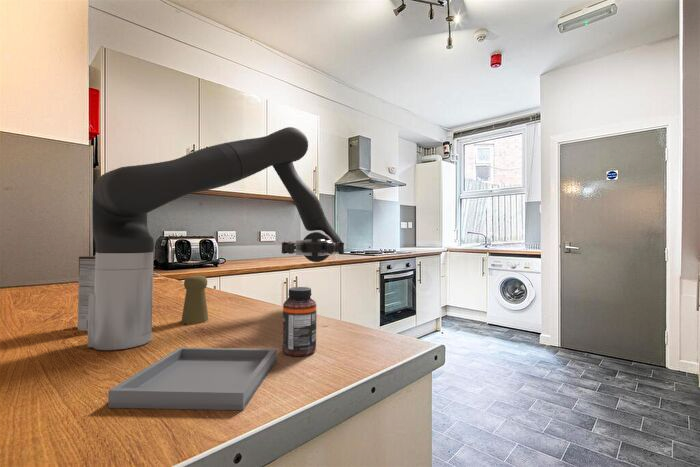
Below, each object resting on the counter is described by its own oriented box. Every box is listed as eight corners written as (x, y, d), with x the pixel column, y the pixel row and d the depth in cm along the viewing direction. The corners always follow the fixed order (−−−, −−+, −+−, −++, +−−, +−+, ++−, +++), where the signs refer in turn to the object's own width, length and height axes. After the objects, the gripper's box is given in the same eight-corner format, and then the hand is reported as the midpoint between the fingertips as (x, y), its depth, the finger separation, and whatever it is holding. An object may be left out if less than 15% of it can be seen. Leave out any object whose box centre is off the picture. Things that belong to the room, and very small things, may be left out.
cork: (201, 324, 79) (202, 277, 79) (176, 324, 79) (177, 276, 79) (212, 318, 85) (213, 274, 85) (188, 318, 85) (189, 274, 85)
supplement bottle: (284, 346, 63) (285, 285, 63) (316, 346, 63) (317, 285, 64) (280, 357, 57) (281, 290, 57) (315, 357, 58) (316, 290, 58)
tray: (108, 407, 40) (108, 390, 40) (179, 359, 56) (179, 347, 56) (243, 410, 39) (243, 393, 39) (275, 361, 55) (276, 348, 55)
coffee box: (113, 320, 81) (115, 254, 82) (136, 322, 80) (138, 254, 80) (76, 330, 72) (78, 255, 73) (100, 332, 71) (102, 256, 71)
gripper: (291, 232, 88) (276, 231, 72) (345, 232, 88) (343, 231, 72) (291, 260, 88) (276, 266, 72) (345, 261, 88) (343, 266, 72)
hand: (309, 248), depth 72 cm, fingers open, 8 cm apart
